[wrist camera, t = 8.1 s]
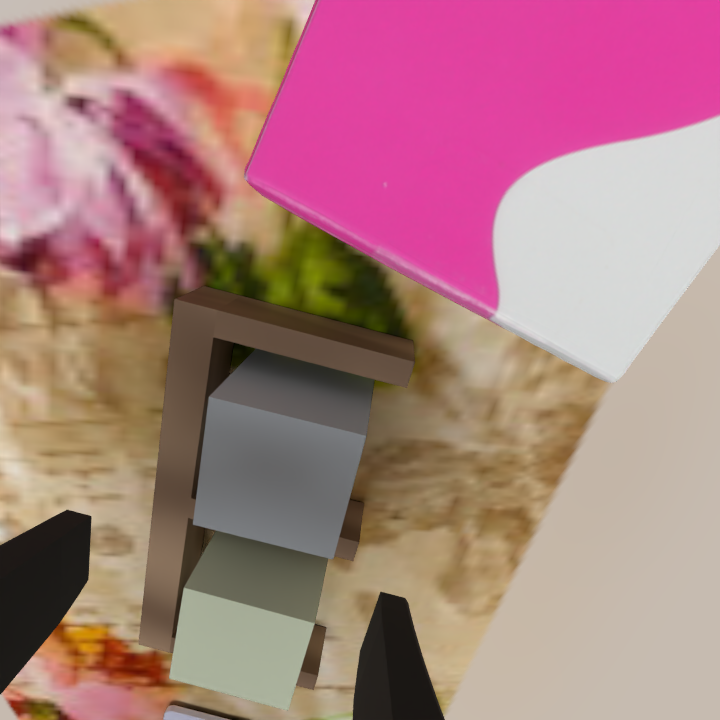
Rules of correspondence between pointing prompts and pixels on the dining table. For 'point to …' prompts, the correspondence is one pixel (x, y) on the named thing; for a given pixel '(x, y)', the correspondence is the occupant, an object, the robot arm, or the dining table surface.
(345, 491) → the slate block
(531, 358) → the dining table surface
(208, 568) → the sage block
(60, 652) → the dining table surface
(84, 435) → the dining table surface
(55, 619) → the robot arm
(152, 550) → the comb rack
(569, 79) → the supplement box
